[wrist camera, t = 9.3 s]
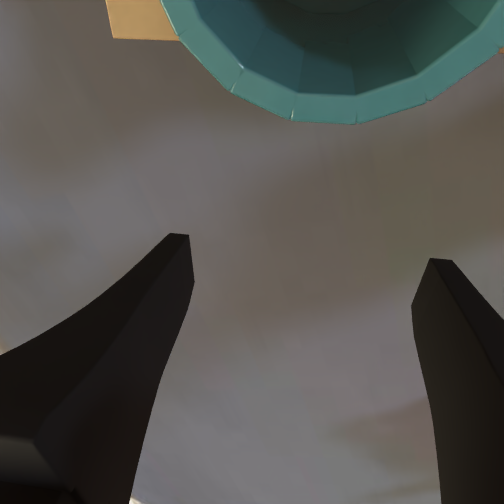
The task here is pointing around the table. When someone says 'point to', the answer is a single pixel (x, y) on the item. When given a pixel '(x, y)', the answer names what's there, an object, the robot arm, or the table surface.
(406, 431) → the table surface
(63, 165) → the table surface
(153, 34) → the wooden small stand
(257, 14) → the cup
